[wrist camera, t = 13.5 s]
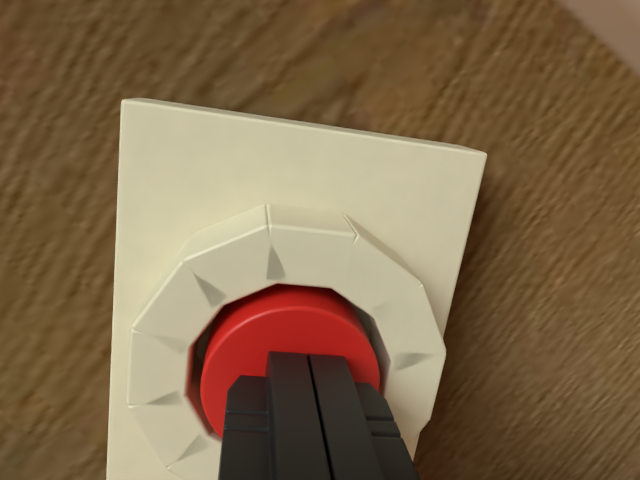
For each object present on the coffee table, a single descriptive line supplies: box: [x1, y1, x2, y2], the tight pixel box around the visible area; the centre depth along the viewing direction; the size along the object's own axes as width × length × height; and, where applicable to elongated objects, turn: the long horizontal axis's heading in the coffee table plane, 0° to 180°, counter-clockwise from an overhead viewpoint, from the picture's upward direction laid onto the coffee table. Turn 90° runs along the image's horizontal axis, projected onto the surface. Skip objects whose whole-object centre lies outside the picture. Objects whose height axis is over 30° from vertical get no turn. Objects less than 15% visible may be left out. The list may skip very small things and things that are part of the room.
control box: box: [106, 98, 487, 480], centre depth 12 cm, size 10×8×4 cm
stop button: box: [200, 283, 380, 438], centre depth 11 cm, size 4×4×2 cm
